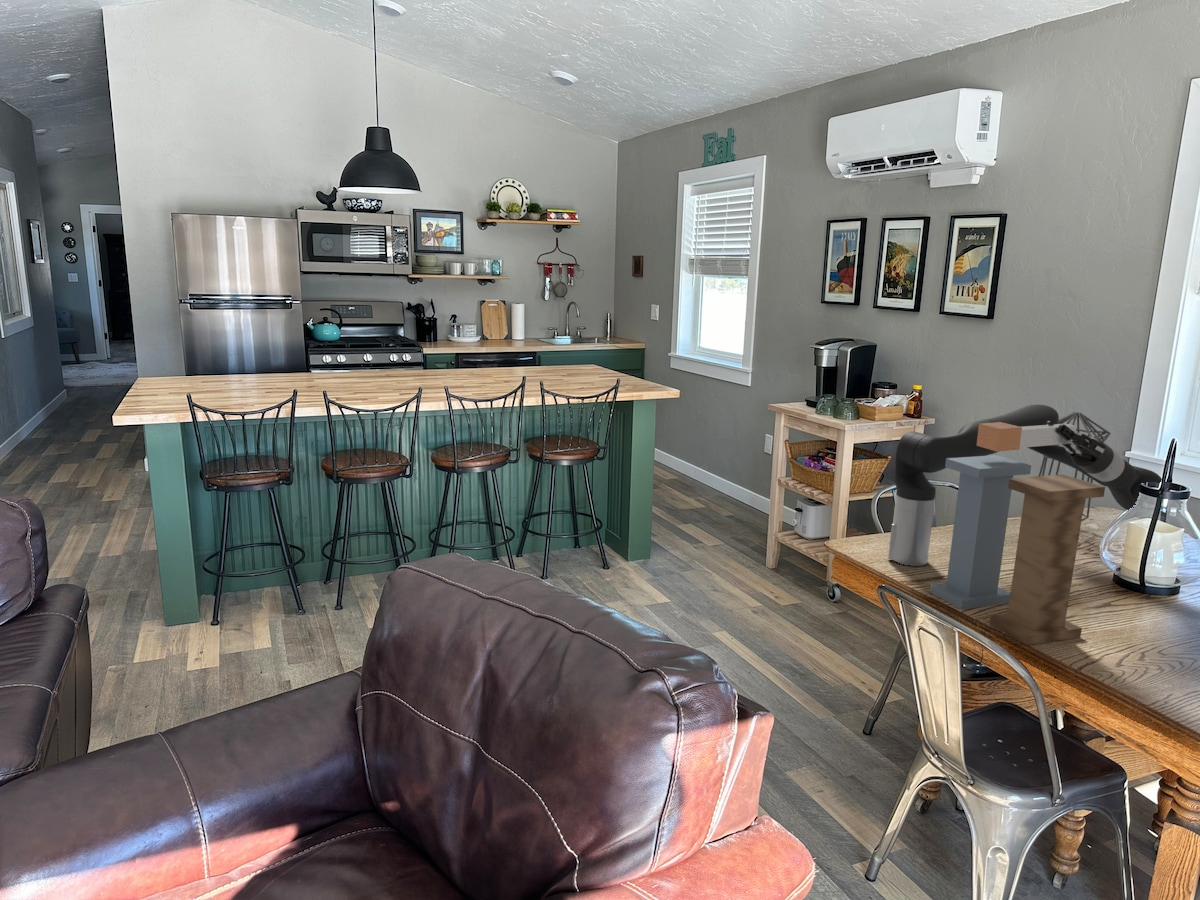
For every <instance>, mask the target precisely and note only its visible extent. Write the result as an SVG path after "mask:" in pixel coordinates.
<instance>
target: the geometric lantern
mask: <svg viewBox="0 0 1200 900" xmlns="http://www.w3.org/2000/svg"><path fill="white" fill-rule="evenodd" d="M1072 420H1073V421H1072ZM1071 421H1072V423H1071V425H1074V426H1075V423H1076V432H1078V433H1079V434H1080V432H1083V433H1087V436H1088V437H1094V438H1098V439H1100V440H1101V441H1102V442H1104V443H1105V442H1106V440H1107V439H1108V438H1109V437H1110V435H1111V432H1110V431H1108V429H1105V428H1104V427H1102V426H1101V425H1100V424H1098V423H1097V422H1095V421H1093V420H1091V418H1089V417H1087V416H1086V415H1084V414H1083V413H1082V412H1079V411H1072V412H1071V413H1069V414H1068V415H1066V416H1064V417H1062V418H1060V419H1059V420H1058V424H1070V422H1071ZM1076 421H1077V422H1076ZM1080 421H1081V423H1082V425H1083V427H1084V428H1085V429H1080ZM1093 425H1094V426H1095V427H1097V428H1099V429H1100V430H1097V429H1096V428H1095V427H1094V426H1093ZM1091 433H1092V434H1093V436H1092V434H1091ZM1103 435H1104V436H1103ZM1042 458H1043V459H1042V461H1041V466H1040V468H1039V469H1040V470H1039V472H1038V476H1045V471H1046V468H1047V463H1048V459H1051V462H1050V466H1049V470H1048V474H1047V476H1050V475H1052V474H1051V473H1052V469H1053V465H1054V462H1055V460H1054V459H1052V458H1049V457H1047V456H1045V455H1043V454H1042ZM1057 462H1058V463H1057V466H1056V472H1055V475H1059V471H1060V467H1061V462H1059V461H1057ZM1078 472H1079V471H1078V470H1076V469H1075V471H1074V477H1073V478H1076V479H1078V478H1077V476H1078ZM1086 479H1087V480H1086V482H1090V483H1093V484H1094V482H1093V481H1094V480H1093V479H1091V478H1090V477H1088V476H1087V478H1086ZM1081 480H1083V481H1085V474H1083V473H1082V472H1081ZM1086 499H1087V498H1085V502H1084V506H1085V504H1086ZM1091 500H1092V498H1088V501H1087V509H1086V514H1084V513H1083V514H1082V520H1081V522H1083V521H1085V520H1087V519H1089V518H1090V517H1089V515H1090V509H1091V502H1092V501H1091ZM1084 509H1085V507H1084V508H1083V511H1084Z"/></svg>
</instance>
